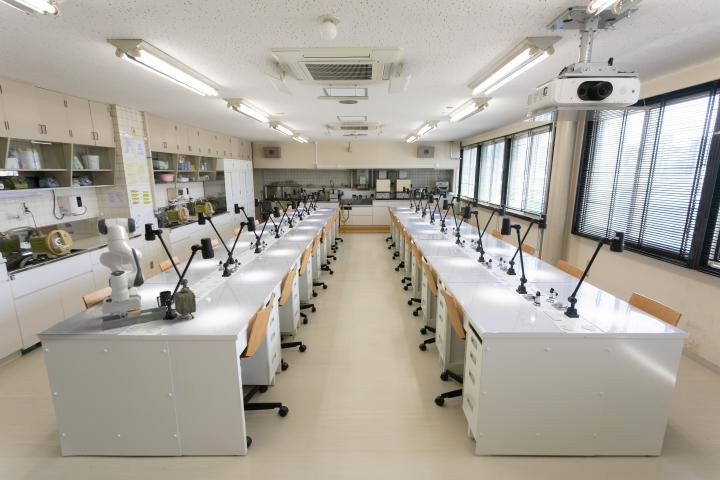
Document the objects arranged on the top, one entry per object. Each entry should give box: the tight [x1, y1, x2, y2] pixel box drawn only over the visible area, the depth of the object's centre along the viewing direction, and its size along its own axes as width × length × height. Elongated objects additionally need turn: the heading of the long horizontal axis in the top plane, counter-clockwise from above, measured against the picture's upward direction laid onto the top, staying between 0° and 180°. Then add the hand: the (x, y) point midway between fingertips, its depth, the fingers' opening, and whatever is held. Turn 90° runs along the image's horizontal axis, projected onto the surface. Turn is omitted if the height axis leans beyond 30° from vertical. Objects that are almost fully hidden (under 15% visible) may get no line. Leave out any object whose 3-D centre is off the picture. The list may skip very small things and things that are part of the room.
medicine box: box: [109, 311, 125, 316], centre depth 224 cm, size 8×4×9 cm, turn 141°
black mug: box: [156, 290, 172, 307], centre depth 235 cm, size 10×7×12 cm
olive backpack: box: [173, 280, 197, 319], centre depth 219 cm, size 14×9×25 cm, turn 44°
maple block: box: [127, 308, 142, 318], centre depth 213 cm, size 5×7×4 cm
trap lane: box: [101, 306, 167, 331], centre depth 214 cm, size 10×35×5 cm, turn 126°
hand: (123, 317), depth 210 cm, fingers closed
